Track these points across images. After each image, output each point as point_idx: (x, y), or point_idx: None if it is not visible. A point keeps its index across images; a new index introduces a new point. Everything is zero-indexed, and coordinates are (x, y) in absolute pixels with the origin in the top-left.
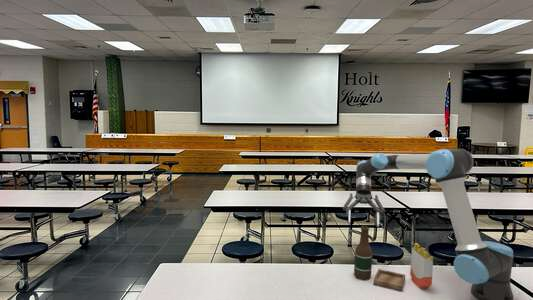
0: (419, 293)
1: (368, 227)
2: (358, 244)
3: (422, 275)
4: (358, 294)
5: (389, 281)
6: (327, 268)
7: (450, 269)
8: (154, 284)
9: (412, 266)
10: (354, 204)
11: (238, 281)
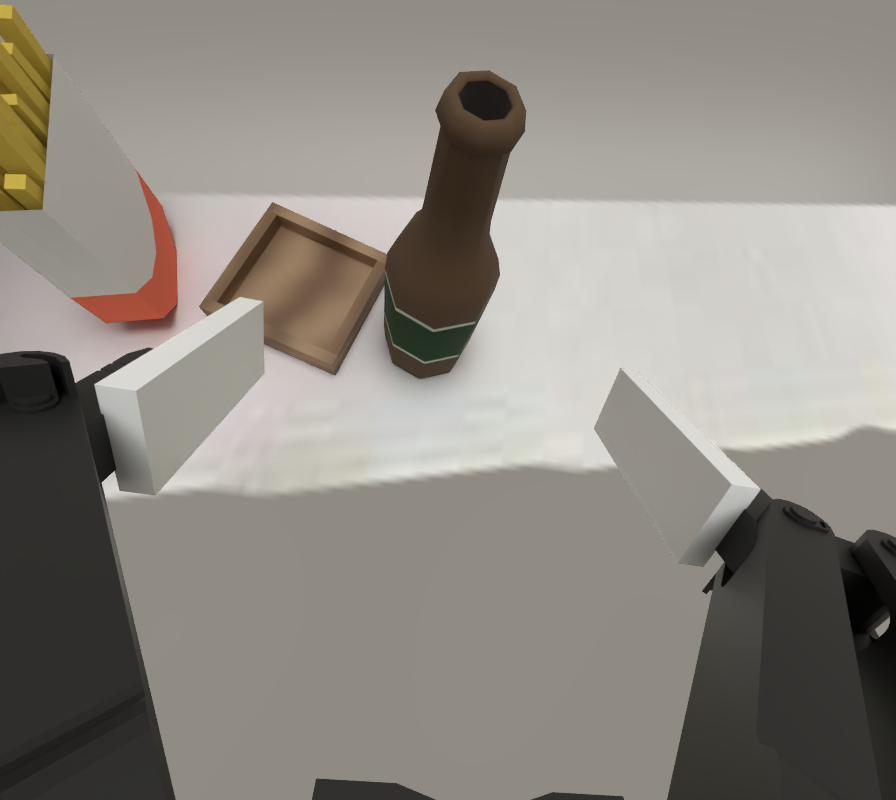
0: (200, 208)
1: (447, 92)
2: (492, 246)
3: (133, 173)
4: None
5: (308, 277)
6: (583, 413)
7: None
8: None
9: (132, 271)
10: (756, 634)
11: (879, 284)
